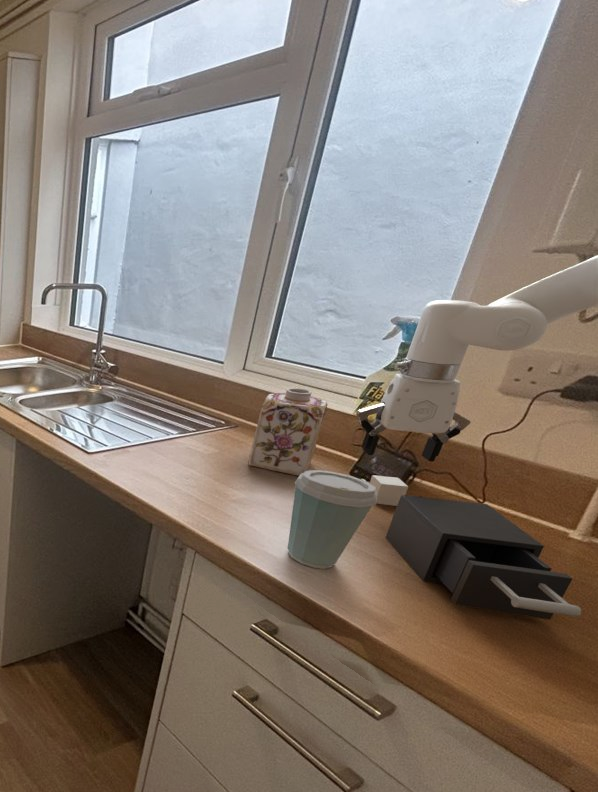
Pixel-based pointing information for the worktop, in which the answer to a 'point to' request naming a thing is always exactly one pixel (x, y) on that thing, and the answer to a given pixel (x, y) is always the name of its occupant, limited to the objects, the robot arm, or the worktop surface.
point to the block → (388, 489)
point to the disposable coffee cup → (327, 515)
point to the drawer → (503, 580)
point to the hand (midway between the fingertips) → (397, 455)
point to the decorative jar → (287, 431)
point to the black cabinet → (448, 530)
